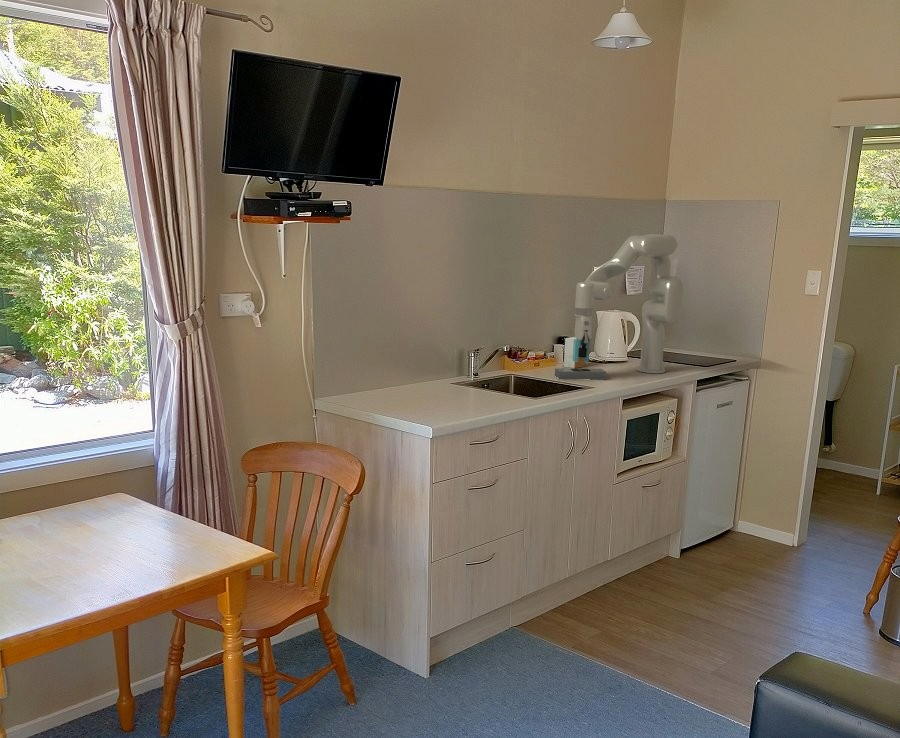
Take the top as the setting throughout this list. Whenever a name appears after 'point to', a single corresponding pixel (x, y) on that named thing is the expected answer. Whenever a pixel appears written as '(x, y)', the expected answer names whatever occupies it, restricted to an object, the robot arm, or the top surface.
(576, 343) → the teal notched block
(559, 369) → the rail
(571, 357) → the small box
